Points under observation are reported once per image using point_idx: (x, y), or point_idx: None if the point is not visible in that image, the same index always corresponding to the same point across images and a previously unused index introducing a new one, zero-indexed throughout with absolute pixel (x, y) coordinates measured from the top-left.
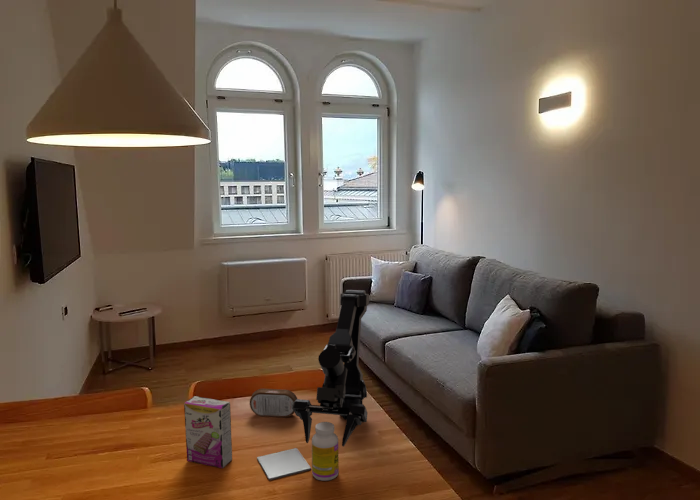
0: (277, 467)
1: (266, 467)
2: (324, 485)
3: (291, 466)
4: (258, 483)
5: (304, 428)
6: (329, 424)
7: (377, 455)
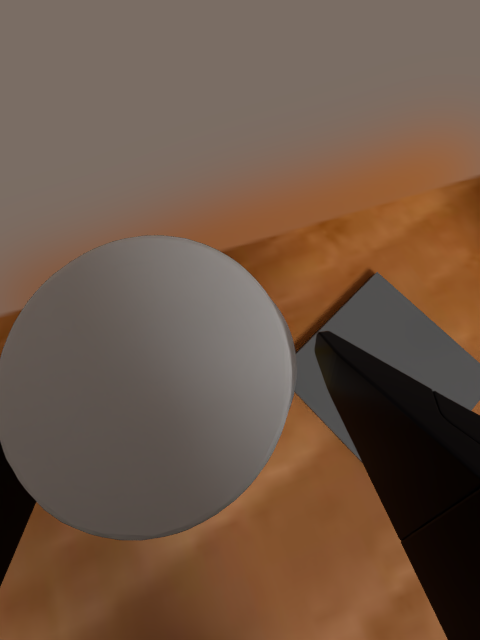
0: (388, 338)
1: (423, 327)
2: None
3: None
4: (394, 253)
5: (420, 386)
6: (83, 451)
7: (54, 567)
